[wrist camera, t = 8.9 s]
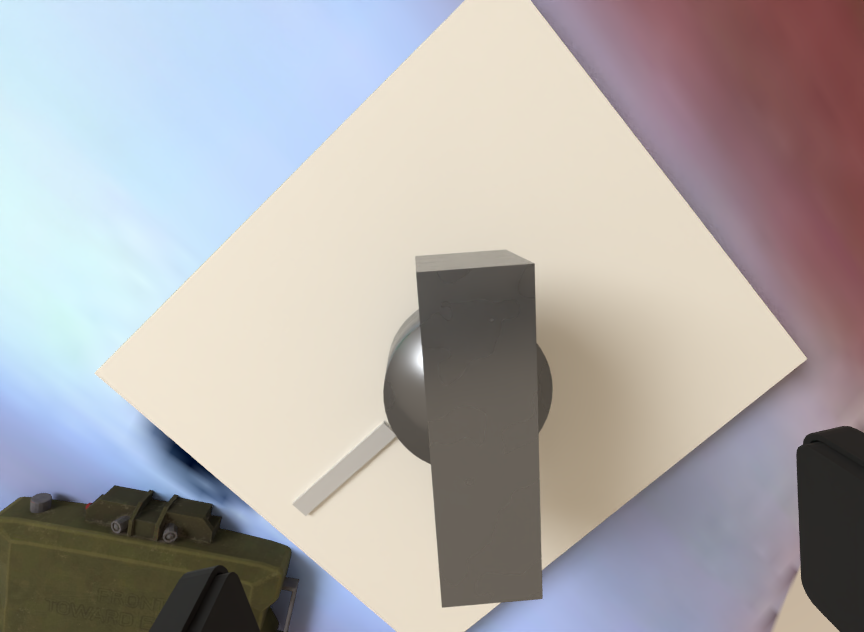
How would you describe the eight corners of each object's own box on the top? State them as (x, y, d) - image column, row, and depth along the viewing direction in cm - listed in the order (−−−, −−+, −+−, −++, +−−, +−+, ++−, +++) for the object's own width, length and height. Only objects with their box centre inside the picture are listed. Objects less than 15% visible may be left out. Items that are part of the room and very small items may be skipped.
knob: (376, 251, 19) (356, 276, 12) (529, 239, 19) (593, 259, 12) (403, 542, 22) (399, 693, 15) (537, 531, 22) (592, 676, 15)
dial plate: (494, -19, 19) (502, -40, 17) (781, 348, 23) (810, 360, 21) (116, 361, 21) (91, 374, 20) (428, 633, 25) (429, 663, 24)
